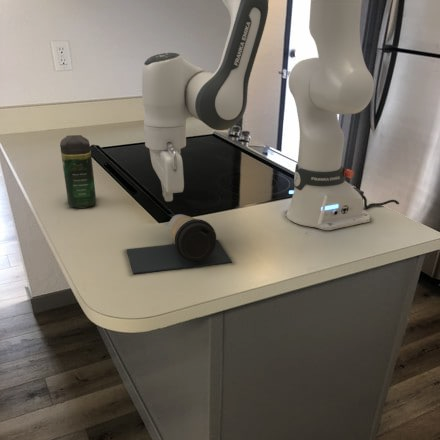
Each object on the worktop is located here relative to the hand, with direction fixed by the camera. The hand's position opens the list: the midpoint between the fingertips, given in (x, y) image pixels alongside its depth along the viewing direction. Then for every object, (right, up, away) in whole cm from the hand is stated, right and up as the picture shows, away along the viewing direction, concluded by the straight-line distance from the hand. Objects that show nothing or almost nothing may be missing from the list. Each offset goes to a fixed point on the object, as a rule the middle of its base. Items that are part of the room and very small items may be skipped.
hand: (167, 199), depth 111 cm
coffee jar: (-28, +4, +28) cm, 40 cm away
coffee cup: (+2, -5, +6) cm, 8 cm away
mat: (+2, -13, 0) cm, 13 cm away
